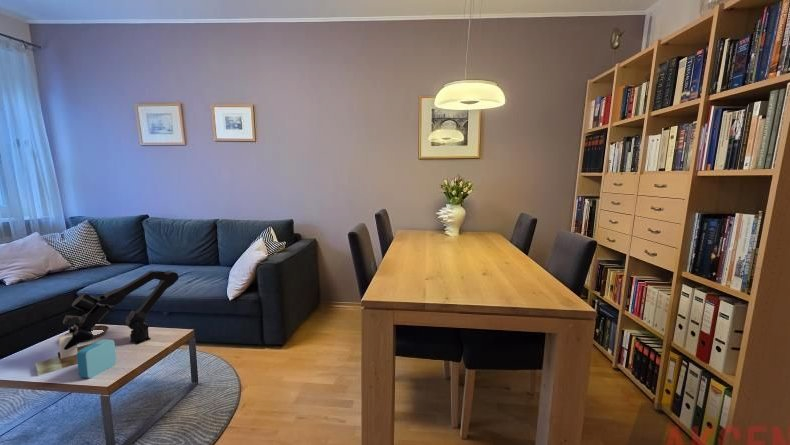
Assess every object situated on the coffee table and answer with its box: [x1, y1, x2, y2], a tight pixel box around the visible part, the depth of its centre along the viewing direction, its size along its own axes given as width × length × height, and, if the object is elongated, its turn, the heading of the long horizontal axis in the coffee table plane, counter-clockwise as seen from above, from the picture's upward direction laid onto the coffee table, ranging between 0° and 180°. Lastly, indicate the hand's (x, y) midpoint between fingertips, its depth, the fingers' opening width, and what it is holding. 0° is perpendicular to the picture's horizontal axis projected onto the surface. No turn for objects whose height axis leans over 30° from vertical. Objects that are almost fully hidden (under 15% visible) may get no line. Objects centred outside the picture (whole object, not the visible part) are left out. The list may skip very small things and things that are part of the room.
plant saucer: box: [63, 324, 109, 344], centre depth 169 cm, size 18×18×3 cm
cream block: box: [57, 332, 78, 359], centre depth 145 cm, size 5×5×10 cm
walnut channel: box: [34, 341, 97, 377], centre depth 147 cm, size 23×10×4 cm, turn 142°
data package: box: [77, 338, 117, 379], centre depth 138 cm, size 12×4×12 cm, turn 173°
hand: (63, 347), depth 144 cm, fingers closed on cream block, 5 cm apart
